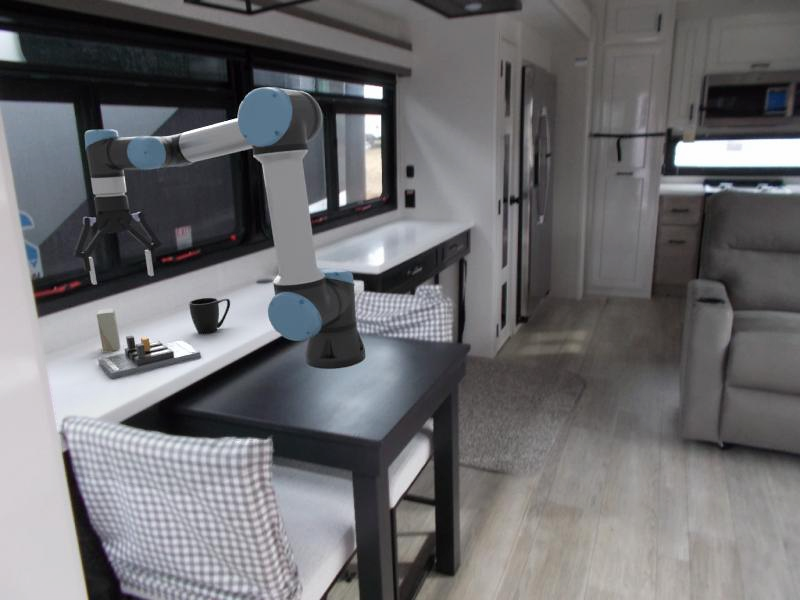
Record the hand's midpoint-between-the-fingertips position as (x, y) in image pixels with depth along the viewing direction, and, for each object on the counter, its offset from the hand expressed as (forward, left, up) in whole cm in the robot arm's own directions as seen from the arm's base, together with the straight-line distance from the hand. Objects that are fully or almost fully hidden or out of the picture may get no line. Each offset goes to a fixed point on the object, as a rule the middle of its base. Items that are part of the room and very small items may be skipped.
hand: (123, 279), depth 158 cm
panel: (-3, -3, -22) cm, 22 cm away
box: (+16, +2, -22) cm, 28 cm away
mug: (+12, -26, -22) cm, 36 cm away
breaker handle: (-3, -2, -19) cm, 19 cm away
